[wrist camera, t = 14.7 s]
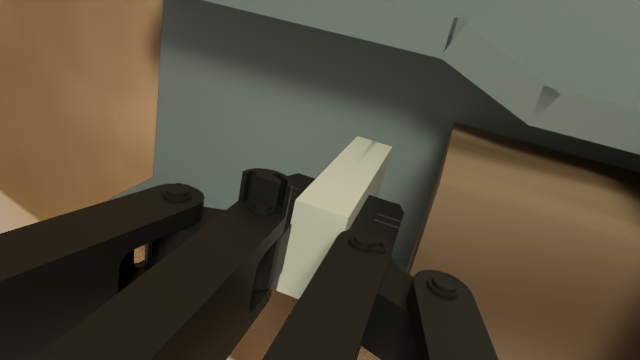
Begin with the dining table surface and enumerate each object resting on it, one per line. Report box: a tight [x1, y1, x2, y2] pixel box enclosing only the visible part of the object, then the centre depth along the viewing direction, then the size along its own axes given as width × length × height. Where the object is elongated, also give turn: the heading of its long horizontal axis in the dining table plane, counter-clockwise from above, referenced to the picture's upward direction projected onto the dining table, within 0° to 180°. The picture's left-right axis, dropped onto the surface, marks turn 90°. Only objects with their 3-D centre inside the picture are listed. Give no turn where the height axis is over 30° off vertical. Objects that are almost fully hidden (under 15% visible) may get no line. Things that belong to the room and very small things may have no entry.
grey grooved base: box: [109, 0, 640, 287], centre depth 15 cm, size 16×24×11 cm, turn 78°
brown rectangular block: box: [406, 122, 640, 360], centre depth 14 cm, size 5×10×7 cm, turn 78°
